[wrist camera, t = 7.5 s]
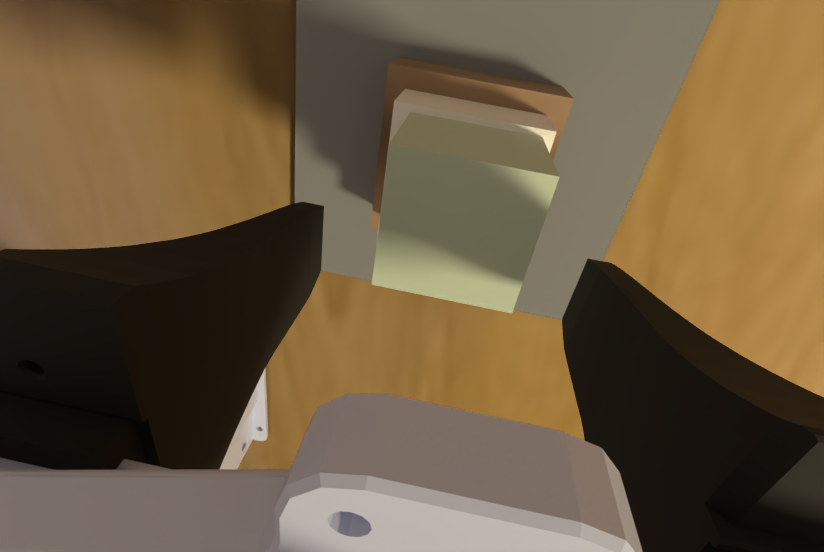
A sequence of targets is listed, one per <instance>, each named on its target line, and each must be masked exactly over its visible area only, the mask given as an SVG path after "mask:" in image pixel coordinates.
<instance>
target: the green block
mask: <svg viewBox="0 0 824 552" xmlns="http://www.w3.org/2000/svg"><path fill="white" fill-rule="evenodd" d="M559 177H560V176H559V174H558V172H557V170H556V167H555V165H554V163H553V160H552V158H551V156H550V153H549V151H548V149H547V146H546V144H545V142H544V140H543V137H540V136H535V135H529V134H524V133H519V132H514V131H509V130H503V129H498V128H493V127H488V126H483V125H477V124H472V123H467V122H462V121H456V120H451V119H446V118H441V117H436V116H430V115H425V114H420V113H415V112H410V113H409V115H408V116H407V118H406V119H405V121H404V122H403V124H402V125H401V127H400V128H399V130H398V131H397V133H396V134H395V136H394V137H393V139H392V140H391V142H390V143H389V150H388V158H387V166H386V174H385V182H384V190H383V198H382V206H381V214H380V222H379V230H378V238H377V246H376V254H375V262H374V270H373V278H372V285H377V286H382V287H386V288H391V289H396V290H401V291H406V292H411V293H415V294H420V295H425V296H430V297H435V298H440V299H445V300H449V301H454V302H459V303H464V304H469V305H474V306H478V307H483V308H488V309H493V310H498V311H503V312H508V313H512V312H513V309H514V307H515V304H516V301H517V298H518V295H519V292H520V289H521V286H522V284H523V281H524V278H525V275H526V272H527V269H528V266H529V263H530V261H531V258H532V255H533V252H534V249H535V246H536V243H537V240H538V238H539V235H540V232H541V229H542V226H543V223H544V220H545V218H546V215H547V212H548V209H549V206H550V203H551V200H552V197H553V195H554V192H555V189H556V186H557V183H558V180H559Z"/></svg>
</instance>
